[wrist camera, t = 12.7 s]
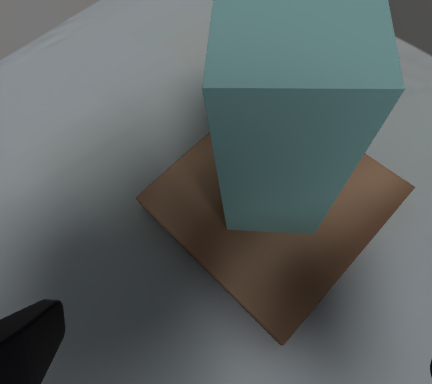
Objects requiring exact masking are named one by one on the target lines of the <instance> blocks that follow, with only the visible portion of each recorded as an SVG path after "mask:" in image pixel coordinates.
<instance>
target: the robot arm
mask: <svg viewBox="0 0 432 384" xmlns="http://www.w3.org/2000/svg"><path fill="white" fill-rule="evenodd" d="M64 334H65V321H64V312H63V305H62V303H61V301H59V300H50V299H44V300H41V301H39V302H37V303H35V304H33V305H30V306H28V307H26V308H24V309H22V310H20V311H18V312H16V313H13V314H11V315H9V316H7V317H5V318H3V319H1V320H0V384H41V383H42V381H43V379H44V376H45V374H46V372H47V370H48V368H49V366H50V364H51V362H52V360H53V358H54V356H55V354H56V352H57V350H58V348H59V346H60V344H61V342H62V340H63V337H64ZM430 372H431V376H432V360H431V364H430Z"/></svg>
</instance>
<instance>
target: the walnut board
mask: <svg viewBox="0 0 432 384" xmlns="http://www.w3.org/2000/svg"><path fill="white" fill-rule="evenodd" d="M414 188H415V187H414V186H413V185H411V184H410V183H408V182H407V181H405V180H404V179H402V178H401V177H399V176H398V175H396V174H395V173H393V172H392V171H390V170H389V169H387V168H386V167H384V166H383V165H381V164H380V163H378V162H377V161H375V160H374V159H372V158H371V157H369V156H368V155H366V154H364V155H363V157H362V158H361V160H360V162H359V163H358V165H357V166H356V168H355V170H354V171H353V173H352V174H351V176H350V178H349V179H348V181H347V182H346V184H345V186H344V187H343V189H342V190H341V192H340V194H339V195H338V197H337V198H336V200H335V202H334V203H333V205H332V206H331V208H330V210H329V211H328V213H327V214H326V216H325V218H324V219H323V221H322V222H321V224H320V226H319V227H318V229H317V230H316V232H315V234H297V233H278V232H260V231H241V230H227V226H226V221H225V215H224V209H223V204H222V198H221V192H220V187H219V181H218V175H217V170H216V164H215V158H214V153H213V147H212V141H211V136H210V132H209V133H208V134H207V135H206V136H205V137H203V138H202V139H201V140H200V141H199V142H198V143H197V144H196V145H194V146H193V147H192V148H191V149H190V150H189V151H188V152H186V153H185V154H184V155H183V156H182V157H181V158H180V159H179V160H177V161H176V162H175V163H174V164H173V165H172V166H171V167H170V168H168V169H167V170H166V171H165V172H164V173H163V174H162V175H161V176H159V177H158V178H157V179H156V180H155V181H154V182H153V183H152V184H150V185H149V186H148V187H147V188H146V189H145V190H144V191H143V192H141V193H140V194H139V195H138V196H137V197H136V199H137V200H138V202H139V203H140V204H141V206H142V207H143V208H144V209H145V210H146V211H147V212H148V213H149V214H150V215H151V216H152V217H153V218H154V219H155V220H156V221H157V222H158V223H159V224H160V225H161V226H162V227H163V228H164V229H165V230H166V231H167V232H168V233H169V234H170V235H171V236H172V237H173V238H174V239H175V240H176V241H177V242H178V243H179V244H180V245H181V246H182V247H183V248H184V249H185V250H186V251H187V252H188V253H189V254H190V255H191V256H192V257H193V258H194V259H195V260H196V261H197V262H198V263H199V264H200V265H201V266H202V267H203V268H204V269H205V270H206V271H207V272H208V273H209V274H210V275H211V276H212V277H213V278H214V279H215V280H216V281H217V282H218V283H219V284H220V285H221V286H222V287H223V288H224V289H225V290H226V291H227V292H228V293H229V294H230V295H231V296H232V297H233V298H234V299H235V300H236V301H237V302H238V303H239V304H240V305H241V306H242V307H243V308H244V309H245V310H246V311H247V312H248V313H249V314H250V315H251V316H252V317H253V318H254V319H255V320H256V321H257V322H258V323H259V324H260V325H261V326H262V327H263V328H264V329H265V330H266V331H267V332H268V333H269V334H270V335H271V336H272V337H273V338H274V339H275V340H276V341H277V342H278V343H279V344H280V345H284V344H285V342H286V341H287V340H288V339H289V338H290V336H291V335H292V334H293V333H294V332H295V330H296V329H297V328H298V327H299V326H300V324H301V323H302V322H303V321H304V320H305V318H306V317H307V316H308V315H309V314H310V313H311V311H312V310H313V309H314V308H315V307H316V305H317V304H318V303H319V302H320V301H321V299H322V298H323V297H324V296H325V295H326V293H327V292H328V291H329V290H330V289H331V287H332V286H333V285H334V284H335V283H336V281H337V280H338V279H339V278H340V277H341V275H342V274H343V273H344V272H345V271H346V269H347V268H348V267H349V266H350V265H351V263H352V262H353V261H354V260H355V259H356V257H357V256H358V255H359V254H360V253H361V251H362V250H363V249H364V248H365V247H366V246H367V244H368V243H369V242H370V241H371V240H372V238H373V237H374V236H375V235H376V234H377V232H378V231H379V230H380V229H381V228H382V226H383V225H384V224H385V223H386V222H387V220H388V219H389V218H390V217H391V216H392V214H393V213H394V212H395V211H396V210H397V208H398V207H399V206H400V205H401V204H402V202H403V201H404V200H405V199H406V198H407V196H408V195H409V194H410V193H411V192H412V190H413V189H414Z"/></svg>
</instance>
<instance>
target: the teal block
mask: <svg viewBox="0 0 432 384" xmlns="http://www.w3.org/2000/svg"><path fill="white" fill-rule="evenodd" d="M404 89H405V88H404V82H403V77H402V72H401V67H400V61H399V56H398V51H397V46H396V40H395V35H394V30H393V25H392V19H391V14H390V9H389V3H388V0H213V6H212V14H211V22H210V30H209V37H208V45H207V53H206V61H205V69H204V77H203V84H202V90H203V96H204V102H205V107H206V113H207V119H208V124H209V130H210V136H211V141H212V147H213V153H214V158H215V164H216V170H217V175H218V181H219V187H220V192H221V198H222V204H223V209H224V215H225V221H226V226H227V230H241V231H260V232H278V233H297V234H315V232H316V230H317V229H318V227H319V226H320V224H321V222H322V221H323V219H324V218H325V216H326V214H327V213H328V211H329V210H330V208H331V206H332V205H333V203H334V202H335V200H336V198H337V197H338V195H339V194H340V192H341V190H342V189H343V187H344V186H345V184H346V182H347V181H348V179H349V178H350V176H351V174H352V173H353V171H354V170H355V168H356V166H357V165H358V163H359V162H360V160H361V158H362V157H363V155H364V154H365V152H366V150H367V149H368V147H369V146H370V144H371V142H372V141H373V139H374V138H375V136H376V134H377V133H378V131H379V130H380V128H381V126H382V125H383V123H384V122H385V120H386V118H387V117H388V115H389V114H390V112H391V110H392V109H393V107H394V105H395V104H396V102H397V101H398V99H399V97H400V96H401V94H402V93H403V91H404Z"/></svg>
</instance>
